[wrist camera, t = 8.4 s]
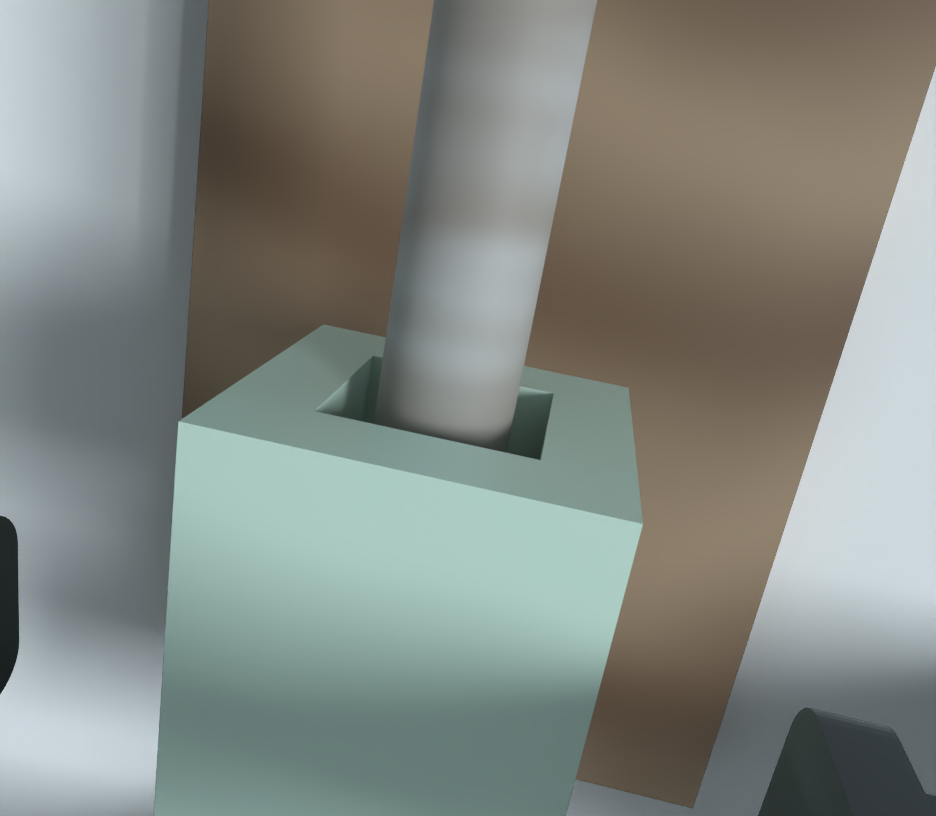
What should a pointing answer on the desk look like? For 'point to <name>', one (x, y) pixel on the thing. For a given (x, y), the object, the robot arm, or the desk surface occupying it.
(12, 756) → the desk surface
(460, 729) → the sleeve
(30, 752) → the desk surface
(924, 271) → the desk surface
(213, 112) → the rod stand
